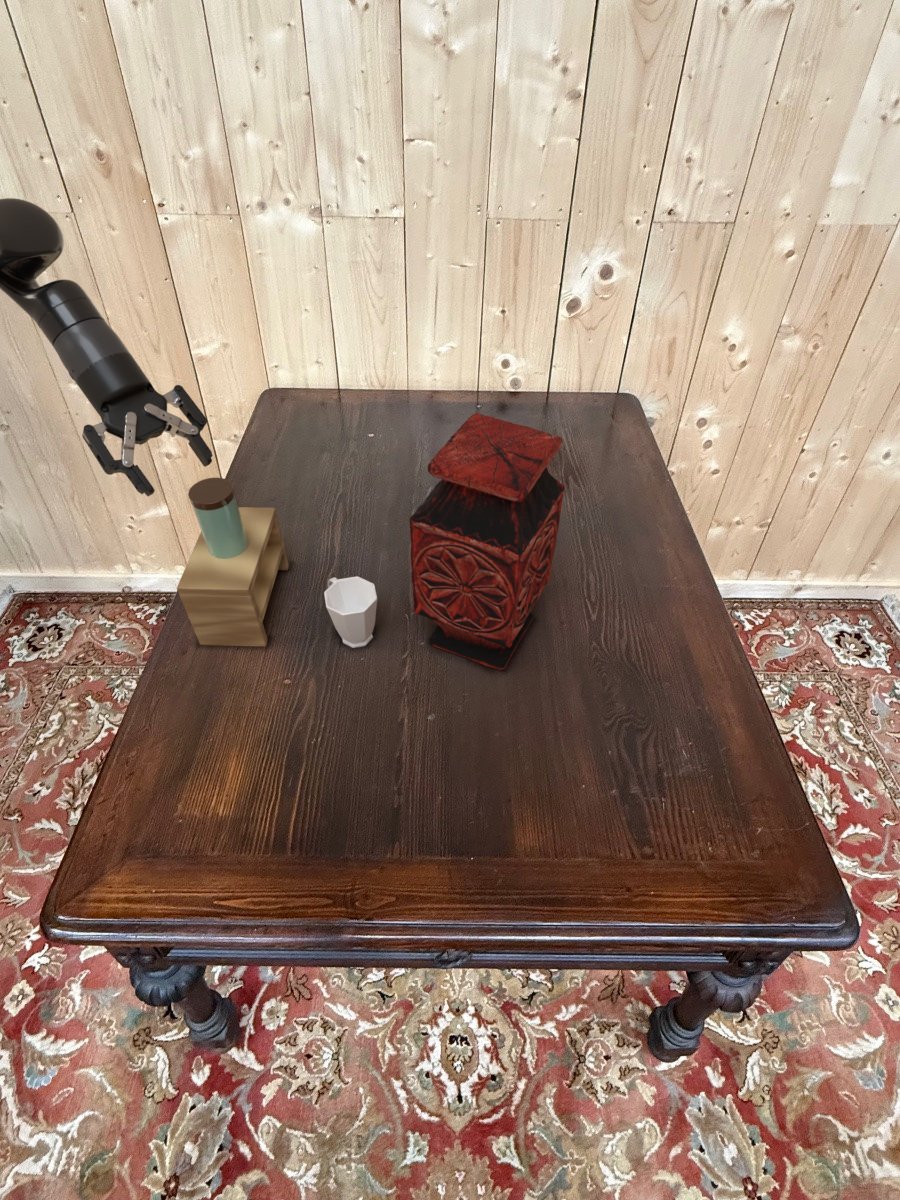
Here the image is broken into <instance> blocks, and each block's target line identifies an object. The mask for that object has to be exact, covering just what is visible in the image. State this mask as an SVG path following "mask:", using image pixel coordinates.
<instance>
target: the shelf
mask: <svg viewBox="0 0 900 1200" xmlns="http://www.w3.org/2000/svg"><path fill="white" fill-rule="evenodd" d="M238 508H239V511H240V515H241V518H242V522H243V525H244V528H245V532H246V535H247V539H248V546H247V548H246V549H245V550H244V551H243V552H242V553H241V554H239V555H237V556H235V557H232V558H227V559H221V558H216V557H214V556H212V555H211V554H210V553H209V551H208V549H207V546H206V543H205V540H204V537H203V535H202V532H201V531H200V533H199V535H198V537H197V540H196V542H195V543H194V546H193V549H192V552H191V554H190V556H189V558H188V561H187V562H186V566H185V567H184V570H183V573H182V575H181V577H180V580H179V582H178V584H177V586H176V591H177V593H178V595H179V598H180V600H181V602H182V605H183V607H184V610H185V612H186V614H187V617H188V619H189V621H190V623H191V627H192V629H193V631H194V633H195V635H196V638H197V641H198V642H199V646H225V647H227V646H229V647H230V646H231V647H267V644H268V640H269V639H268V635H267V633H266V629H265V626H264V619H265V616H266V611H267V608H268V605H269V602H270V599H271V595H272V592H273V588H274V585H275V582H276V578H277V575H278V571H288V570H289V567H290V562H289V559H288V555H287V551H286V547H285V541H284V538H283V534H282V530H281V526H280V521H279V518H278V517H279V516H278V513H277V509H276V508H275V507H251V506H249V507H247V506H245V507H244V506H243V507H242V506H241V507H240V506H238Z"/></svg>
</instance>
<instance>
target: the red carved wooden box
mask: <svg viewBox="0 0 900 1200" xmlns="http://www.w3.org/2000/svg"><path fill="white" fill-rule="evenodd" d="M563 442H564V440H563V437H561V436H558V435H557V434H556V435H553V434H551V433H549V432H546V431H542V430H540V429H537V428H533V427H529V426H527V425H522V424H517V423H513V422H510V421H508V420H504V419H500V418H496V417H494V416H489V415H485V414H483V413H482V414H481V413H478V412H476V413H473V414H471V416H470V417H468V418H467V420H465V421H464V422H463V423H462V424H461V426H460V427H459V428H458V429H457V430H456V431H455V432H454V433H453V434H452V436H451V437H450V438H449V439H448V440H447V442H446V443H445V444H444V445H443V446H442V447H441V448H440V449H439V451H438V452H437V453H436V454H435V455H434V456H433V458H432V459H431V460H430V462H429V463H428V464H427V472H428V473H429V474H430V475H431V476H432V477H434V478H437V479H439V481H438V482H437V483H436V484H435V486H434V487H433V489H432V490H431V491H430V493H429V494H428V495H427V496H426V498H425V499H424V500H423V502H422V503H421V504H420V505H419V506H418V507H417V509H416V510H415V511H414V513H413V514H412V515H410V516H409V521H408V522H409V532H410V533H409V534H410V545H411V546H410V566H411V584H412V596H413V597H412V598H413V610H412V613H414V614H416V615H419V616H422V617H423V618H426V619H428V620H430V621H432V622H433V623H434V624H436V627H435V629H434V630H433V632H432V634H431V636H430V637H429V639H428V641H429V642H428V643H429V645H431V646H432V647H434V648H437V649H440V650H442V651H446V652H450V653H451V654H454V655H457V656H459V657H462V658H464V659H468V660H470V661H472V662H475V663H477V664H480V665H483V666H485V667H489V668H490V669H495V670H498V671H502V670H505V669H506V668H507V665H508V663H509V662H510V660H511V657H512V656H513V654H514V653H515V651H516V649H517V647H518V645H519V643H520V642H521V640H522V638H523V637H524V635H525V634H526V631H527V630H528V628H529V627H530V625H531V623H532V621H533V618H534V614H533V612H532V610H533V609H534V607H535V605H536V603H537V602H538V600H539V598H540V596H541V594H542V593H543V591H544V589H545V587H546V585H547V584H548V583H549V581H550V577H551V572H552V565H553V564H552V563H553V560H554V555H555V550H556V545H557V537H558V533H559V527H560V521H561V513H562V505H563V498H564V493H565V485H564V484H563V483H562V482H560V481H559V480H557V479H556V478H555V477H554V476H553V475H552V474H551V473H550V472H549V470H548V465H549V464H551V463H550V462H551V461H552V460H553V458H554V457H555V456H556V455H557V453H558V451H559V450H560V449H561V447H562V444H563Z"/></svg>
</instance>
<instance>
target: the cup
mask: <svg viewBox="0 0 900 1200" xmlns="http://www.w3.org/2000/svg"><path fill="white" fill-rule="evenodd" d="M323 594H324V600H325V608H326V610H327V613H328V615H329V617H330V619H331V622H332V623H333V624H332V625H333V626H334V628H335V630H336V631H337V633H338V635H339V636H340V638H341V640H342V643H343V644H344V645H346V646H348V647H349V648H352V649H355V648H361V647H366V646H367V645H368V644H369V643H370V641H372V639H373V638H374V636H373V632H374V629H375V626H376V624H375V623H376V617H377V616H376V614H377V606H378V605H377V604H378V596H377V591H376V586H375V583H373V582H371V581H369V580H366V579H364V578H363V577H360V576H356V575H355V576H349V577H345V578H339V579H338V578H337V577H335V576H334V577H331V578H330V579H328V580H327V589H325V591H324V592H323Z"/></svg>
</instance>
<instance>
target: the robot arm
mask: <svg viewBox="0 0 900 1200" xmlns="http://www.w3.org/2000/svg"><path fill="white" fill-rule="evenodd" d="M64 247H65V239H64V234H63V231H62V229H61V227H60V225H59V223H58V222H57V220H56V219H55V218H54V217H53V216H52V215H51V214H50V213H49V212H48V211H46V210H45V209H44V208H42V207H40V206H39V205H37V204H36V203H33V202H31V201H28V200H24V199H20V198H15V197H14V198H13V197H5V198H0V290H1V291H2V292H3V293H4V294H6V295H7V297H9V298H10V299H11V300H12V301H13V302H14V303H15V304H17V305H18V307H20V308H21V309H22V310H23V311H24V312H25V313H26V314H27V315H28V316H29V317H30V318H31V319H32V320H33V321H34V322H35V323H36V325H37V326H38V328H39V329H40V330H41V331H42V333H43V334H44V336H45V337H46V339H47V340H48V341H49V343H50V344H51V346H52V347H53V349H54V351H55V352H56V354H57V355H58V358H59V360H60V361H61V363H62V365H63V367H64V368H65V370H66V371H67V372H68V375H69V376H70V378H71V379H72V381H74V382H75V383H76V385H77V386H78V388H79V389H80V391H81V392H82V393H83V395H84V396H85V398H86V399H87V400H88V402H89V403H90V404H91V406H92V407H93V409H94V410H95V411H96V413H97V414H98V416H99V417H100V420H101V422H100V423H96V424H94V425H92V424H85V425H84V426H83V430H82V433H81V436H82V439H83V440H84V442H85V443H86V445H87V446H88V448H89V450H90V451H91V453H92V454H93V456H94V458H95V459H96V461H97V462H98V464H99V465H100V467H101V468H102V471H103V472H104V473H105V474H106V475H109V476H110V475H111V476H112V475H114V474H119V473H120V474H124V475H125V476H126V477H127V479H128V480H129V481H130V483H131V484H132V485H133V486H132V487H134V488H135V490H136V491H137V492H138V494H140V495H144V494H145V496H147V497H150V496H152V495H153V494H154V493H155V491H156V490H155V488H154V487H153V485H152V483H151V482H150V481H149V479H148V478H147V476H146V475H145V473H144V472H143V471H142V469H141V468H140V467H139V466H138V464H134V459H135V457H134V456H135V447H136V445H139V446H141V445H142V446H143V444H146V443H147V442H148V441H149V440H151V439H156V438H158V437H160V436H162V435H163V433H166V434H169V435H172V436H176V437H177V436H178V437H180V438H181V439H185V440H187V441H188V443H187V444H188V446H189V448H190V449H191V450H192V451H193V453H194V454H195V456H196V457H197V459H198V460H199V462H200V463H201V464H202V466H203V467H208V466H209V465H211V463H212V462H213V458H212V457H213V452H212V450H211V448H209V446H208V444H207V443H206V441H205V440H204V439H203V437H202V435H201V432H202V431H203V430H204V428H205V426H206V425H207V423H208V419H207V417H206V416H205V414H204V413H203V412H202V410H201V409H200V408H199V406H198V405H197V404H196V403H195V401H194V400H193V399H192V397H191V396H190V395H189V394H188V391H186V390H185V388H184V387H183V386H182V385H180V384H176V385H174V387H173V388H172V389H171V390H170V391H168V392H166V393H164V394H161V393H159V391H157V390H156V389H155V387H154V386H153V384H152V382H151V381H150V379H149V378H148V377H147V375H146V373H145V372H144V370H143V369H142V368H141V366H140V364H138V362H137V360H135V358H134V356H133V354H132V353H131V352H130V351H129V350H128V347H127V346H126V345H125V343H124V342H123V341H122V339H121V338H120V336H119V335H118V334H117V333H116V332H115V330H114V329H113V328H112V327H111V326H110V325H109V323H108V322H107V321H106V320H105V318H104V316H103V314H101V312H100V311H99V309H98V308H97V306H96V304H94V302H93V300H92V299H91V298H90V296H89V295H88V294H87V292H86V290H84V288H83V287H82V286H81V285H80V284H79V283H78V282H76V281H74V280H71V279H66V278H65V279H57V280H53V281H50V282H48V283H45V284H42V285H41V286H40V283H38V281H37V278H38V277H40V276H41V275H42V274H43V273H44V272H45V271H46V270H47V269H48V268H49V267H50V266H51V265H53V264H54V263H55V262H56V261H57V260H58V259H59V258H60V257H61V255H62V253H63V251H64ZM168 405H171V406H172V407H174V408H177V409H179V410H180V411H181V413H182V414H183V415H184V417H185V418H186V420H187V421H188V422H186V421H184V420H183V419H182V418H181V417H180V416H177V415H176V414H172V413H170V412H169V411H168ZM105 432H106V433H108V434H110V435H112V436H114V437H117V438H119V439H121V445H120V459H115V458H114V457H113V455H112V453H111V451H110V450H109V449H108V448H107V445H106V443H104V442H105V440H106V435H105Z"/></svg>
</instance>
